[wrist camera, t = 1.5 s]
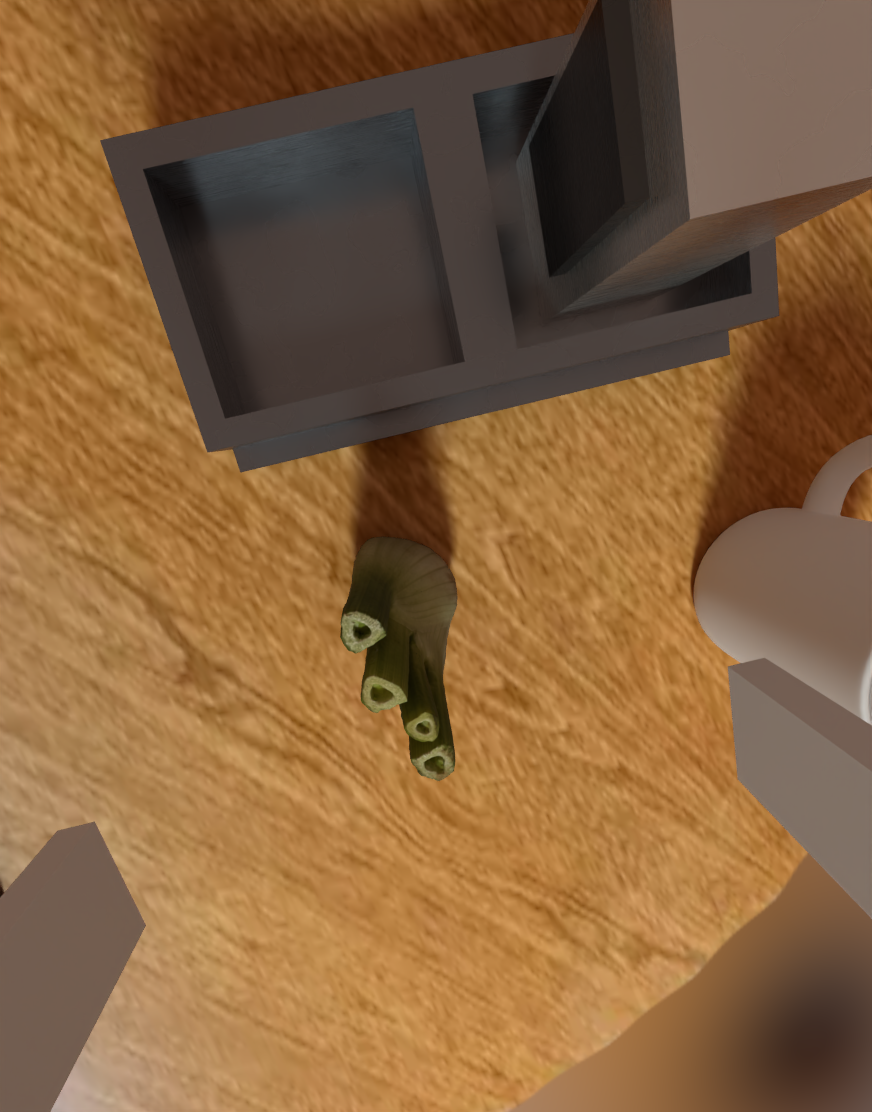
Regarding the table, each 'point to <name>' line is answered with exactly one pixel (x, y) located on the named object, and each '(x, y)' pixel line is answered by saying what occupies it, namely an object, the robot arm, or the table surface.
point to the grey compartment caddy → (495, 219)
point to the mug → (799, 587)
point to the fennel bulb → (405, 642)
